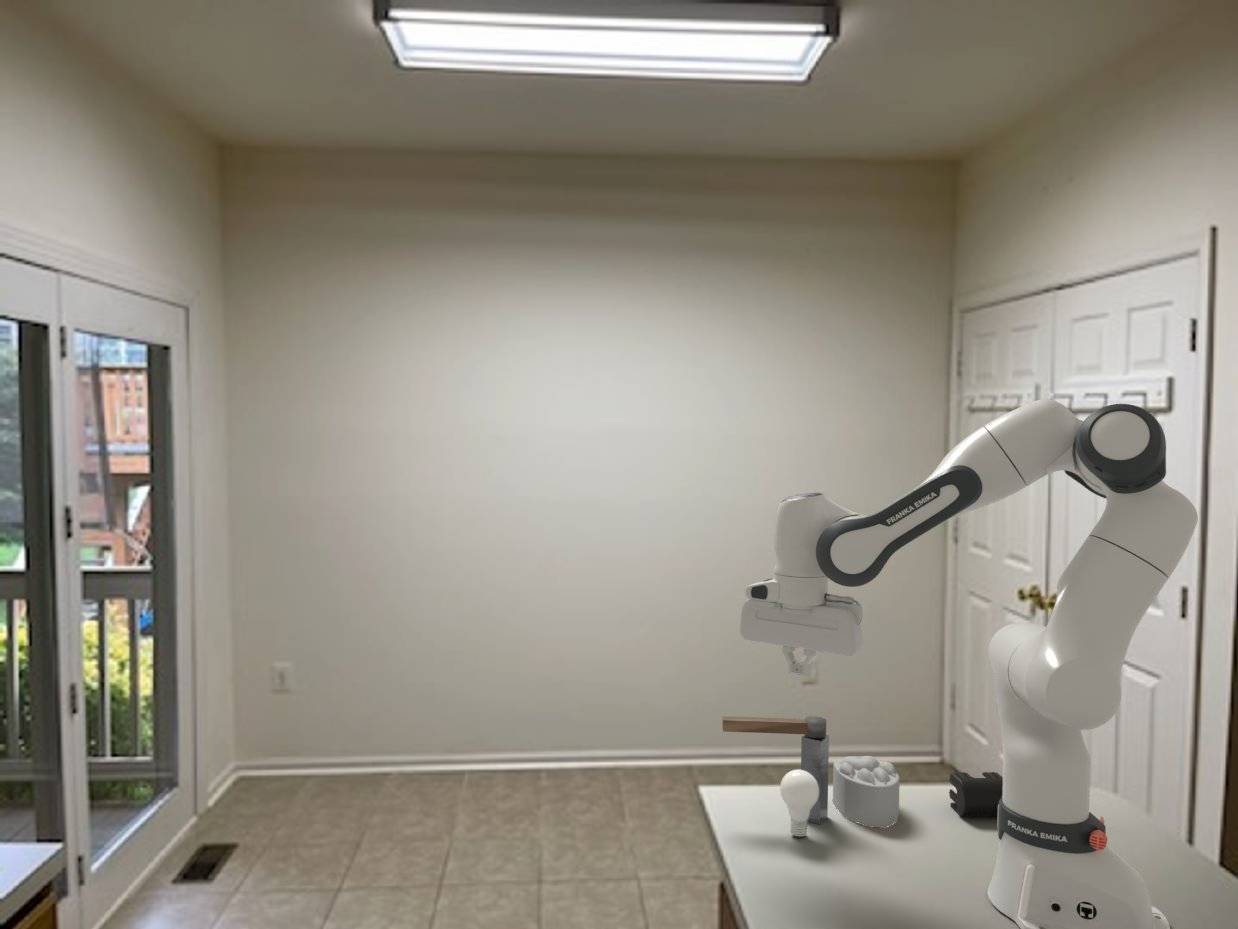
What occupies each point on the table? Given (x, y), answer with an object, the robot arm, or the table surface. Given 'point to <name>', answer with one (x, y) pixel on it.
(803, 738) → the post
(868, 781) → the lumpy-topped squat cylinder
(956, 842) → the table surface
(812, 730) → the hammer
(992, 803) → the end cap
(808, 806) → the lightbulb
